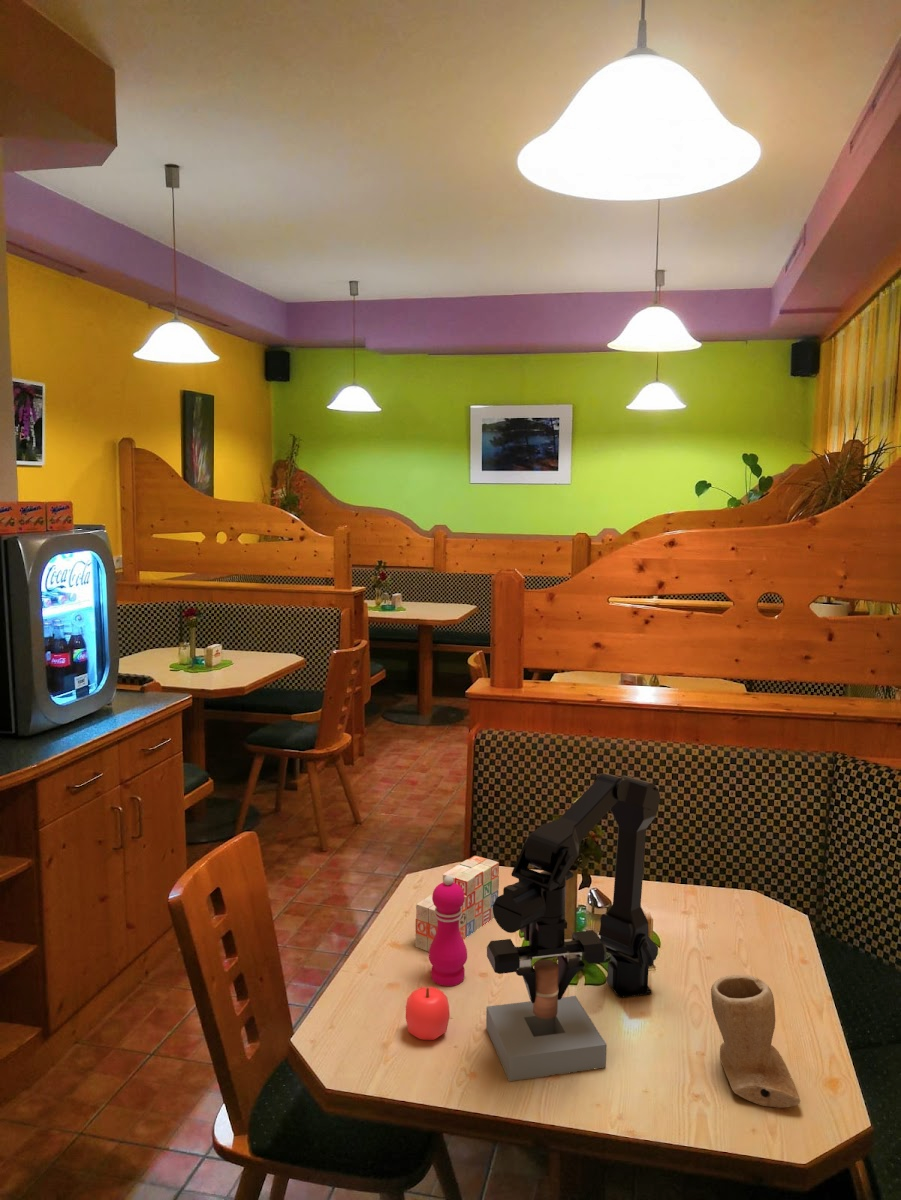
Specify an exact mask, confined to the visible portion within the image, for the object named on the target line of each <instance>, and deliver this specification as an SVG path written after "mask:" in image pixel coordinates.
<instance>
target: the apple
mask: <svg viewBox="0 0 901 1200" xmlns="http://www.w3.org/2000/svg"><path fill="white" fill-rule="evenodd" d="M406 999H407V1000H406V1003H405V1022H406V1026H407V1030H408V1033H409V1034H411V1035H412V1036H414V1037H415V1038H417V1039H420V1040H423V1041H434V1040H436V1039H437V1038H439V1037H440V1036H442V1035H443V1034H445V1033H446V1032H447V1031H448V1025H449V1021H450V1004H449V999H448V997H447V995H446V994H445V993H444V992H443V991H442V990H440V989H438V988H436V987H435V986H429V987H428V986H424V987H423V986H422V987H419V988H417V989H416V990H414V991H412V992H411V993H410V994H409V996H408V997H407V998H406Z"/></svg>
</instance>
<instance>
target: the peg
mask: <svg viewBox="0 0 901 1200" xmlns="http://www.w3.org/2000/svg"><path fill="white" fill-rule="evenodd" d="M533 968H534V970H535V992H536V996H535V1002H534V1003H533V1013H534V1015H536V1016H537V1017H539V1018H542V1019H551V1018H554V1017H555V1016H556V1015H557V1011H558V992H559V987H558V973H559V966H558V962H556V961H554V960H551V959H547V958H546V959H544V958H543V959H538V960H536V961H535V962H534V964H533Z"/></svg>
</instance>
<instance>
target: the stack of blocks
mask: <svg viewBox="0 0 901 1200" xmlns="http://www.w3.org/2000/svg"><path fill="white" fill-rule="evenodd" d="M499 873H500V862H498V861H496V860H492V859H489V858H485V857H482V856H478V855H473V856H471V857H470V858H468V859H465V860H463V861H462V862H460V863H459V864H456V865H455V866H454V867H452V868H451V869H449V870H447V871H446V872H444V873H443V874H442V883H443V882H444V878H445V877H446V876H451V877H452V878H453V883H456V884H458V885H459V886H460V887H461V888H462V889H463V891H464V896H465V900H464V903H463V905H462V906H461V909H462V912H461V914H462V917H461V918H460V919H459V930H460V934H461V936H462V939H464V940H465V939H466V938H467V936H468V937H469V936H471V935H472V934H474V933H473V932H474V931H475V932H476V931H478V930H479V929H481V928H482V927H483V925H484V924H485V925H487V924H488V923H490V922H491V921H493V920H494V919H495V918H494V914H493V905H494V902H495V900H496V899H497V897H499V888H500V874H499ZM432 895H433V893H432V894H430V895H429V896H427V897H426V898H424V899H423V900H420V901H419V902H417V903H416V905H415V906H416V907H415V908H416V909H415V911H416V912H415V924H414V925H415V931H414V932H415V948H418V949H421V950H423V951H425V952H428V953H429V950H430V946H431V944H432V942H433V940H434V938H435V935H436V933H437V927H438V922H437V918H436V917H435V908H436V907H435V905H434V903H433V900H432ZM493 918H494V919H493ZM492 919H493V920H492ZM490 920H491V921H490ZM489 921H490V922H489ZM487 922H488V923H487ZM486 923H487V924H486ZM485 925H484V926H485ZM481 926H482V927H481ZM480 927H481V928H480ZM477 929H478V930H477ZM471 933H472V934H471ZM470 934H471V935H470Z"/></svg>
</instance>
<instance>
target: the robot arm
mask: <svg viewBox="0 0 901 1200" xmlns="http://www.w3.org/2000/svg"><path fill="white" fill-rule="evenodd" d="M660 800H661V795H660V790H659V788H658V787H657V786H656V784H655V783H653V782H650V781H646V780H641V779H639V778H634V777H632V776H631V777H630V776H627V775H621V776H617V775H614V774H610V773H606V772H603V773H599V774H597V775H596V776H595V778H594V780H593V783H592V784H591V785H590V787H588V788H587V789H586V790H585V792H583V794H581V795H580V797H578V799H576V800H575V802H574V803H573V804H572V805H570V806H569V808H568V809H566V811H565V812H564V813H563V814H562V815H561V816H560V817H559V818H558V819H556V820H554V821H553V820H552V821H549V822H546V823H543V824H541V825H540V826H538V827H537V828H536V829H535V830H533V831H532V832H531V833H530V834H528V836H527V837H526V839H525V841H524V843H523V845H522V847H521V850H520V852H519V855H518V857H517V859H516V862H515V864H514V867H513V869H512V871H511V873H510V874H511V875H510V876H512V877H513V878H516V879H518V881H517V882H515V883H513V884H509V885H506V886H504V887H503V890H502V891H503V893H502V894H500V895H498V897H497V899H496V900H495V902H494V905H493V914H494V920H495V922H496V923H497V925H498V926H499V927H500V929H501V930H503V931H505V932H506V933H510V934H515V933H517V932H518V931H520V933H521V934H522V933H523V938H524V940H525V941H526V942H528V945H524V946H523V945H521V946H515V944H514V943H513V941H512V939H511V938H507V939H506V938H504V939H498V940H496V939H495V940H490V941H489V943H488V945H487V946H486V957H487V960H488V962H489V963H490V965H491V968H492V970H493V972H494V973H496V974H499V975H500V974H510V973H516V975H517V976H519V977H522V978H523V982H524V984H525V988H526V991H527V994H528V997H529V1000H530V1001H531V1002H532V1003H534V1002H535V996H536V992H535V970H534V966H533V965H532V961H533V960H534V959H542V958H543V959H544V958H550V957H552V958H553V957H557V964H558V966H559V973H558V987H559V992H558V1000H561V998H562V997H564V995H565V993H566V991H567V989H568V987H569V985H570V984H571V982H572V980H573V979H574V978H575V976H576V975H577V973H578V972H579V971H580V970H583V969H585V963H584V961H583V959H584V960H585V961H586V962H587V963H588V964H599V963H605V961H606V960H607V953H608V954H610V960H608V962H607V976H606V978H605V980H606V982H607V984H608V985H609V987H610V988H611V989H612V990H613V992H614V993H615V995H617V997H618V998H629V997H638V996H644V995H652V991H653V990H652V989H651V988H650V986H649V967H651V966H652V967H653V966H654V964H655V963H654V962H655V960H656V959H657V956H658V951H659V947H658V945H657V944H656V943H655V942H654V941H653V940H652V939H651V938H650V934H649V929H650V928H649V921H648V919H647V917H646V915H645V912H644V910H643V908H642V893H643V892H642V891H643V880H644V878H643V876H644V865H645V864H644V863H645V849H646V837H647V828H648V827H649V826H650V824H651V823H652V822H653V821H654V819H656V816H657V814H658V809H659V808H658V807H659V805H660V803H661V801H660ZM609 811H610V812H611V814H612V816H613V818H614V820H615V823H616V824H617V840H616V841H617V842H616V853H615V855H616V856H615V871H614V883H613V886H614V887H613V897H612V905H610V907H609V908H608V910H607V911H606V912H605V913H602V914H601V916H600V919H599V920H600V927H599V932H598V934H597V933H596V932H595V931H594V930H593V929H590V930H583V931H582V930H581V931H574V932H573V933H571V938H567V939H565V932H566V931H565V930H566V929H568V921H567V920H566V896H567V895H566V893H567V892H566V891H567V890H566V889H567V881H568V880H570V879H572V878H574V875H575V874H574V872H572V871H571V870H570V869H571V868H572V865H574V863H575V861H576V860H577V858H578V857H579V851H580V849H579V848H580V844H581V842H582V841H583V840H584V838H586V836H587V835H588V834H590V832H591V831H592V830H593V829H594V828H595V827H596V825H597V824H599V822H600V821H601V820H602V819H603V818H604V817H605V815H606V814H608V813H609ZM529 866H531V867H534V868H536V869H539V870H542V871H541V872H539V871H535V870H534V869H531V868H528V867H529ZM582 957H583V959H582Z"/></svg>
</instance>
